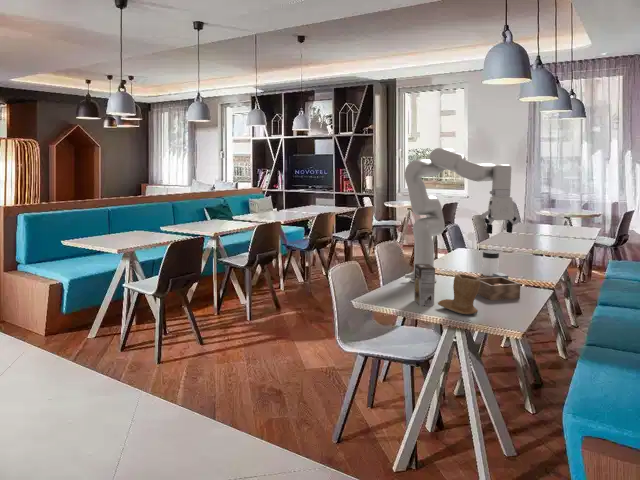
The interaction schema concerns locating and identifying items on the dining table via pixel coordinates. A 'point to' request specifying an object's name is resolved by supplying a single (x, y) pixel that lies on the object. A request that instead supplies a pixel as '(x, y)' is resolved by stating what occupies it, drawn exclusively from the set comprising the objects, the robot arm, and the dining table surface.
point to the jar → (490, 263)
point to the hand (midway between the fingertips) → (499, 232)
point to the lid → (500, 275)
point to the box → (498, 288)
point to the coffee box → (424, 284)
